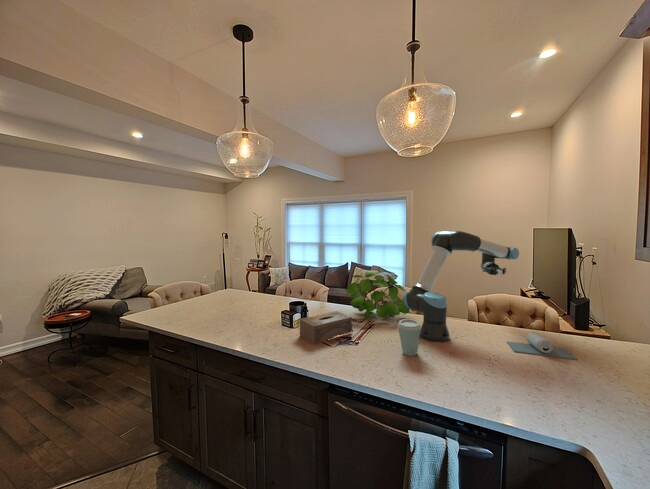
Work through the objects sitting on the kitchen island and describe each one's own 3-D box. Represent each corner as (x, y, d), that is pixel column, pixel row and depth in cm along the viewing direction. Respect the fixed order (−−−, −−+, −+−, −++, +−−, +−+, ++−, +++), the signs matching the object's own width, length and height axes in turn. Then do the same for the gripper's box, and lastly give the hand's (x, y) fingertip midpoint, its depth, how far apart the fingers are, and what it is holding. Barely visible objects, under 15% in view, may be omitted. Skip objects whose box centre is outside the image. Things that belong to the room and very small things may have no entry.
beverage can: (526, 344, 137) (538, 353, 126) (525, 331, 137) (537, 339, 126) (540, 344, 136) (554, 354, 124) (540, 332, 136) (553, 340, 124)
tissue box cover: (314, 345, 138) (313, 326, 138) (299, 336, 150) (299, 319, 150) (352, 334, 153) (352, 317, 153) (336, 327, 165) (336, 311, 164)
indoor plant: (397, 296, 214) (406, 265, 199) (406, 337, 178) (419, 303, 163) (342, 289, 215) (348, 257, 200) (341, 329, 179) (347, 294, 164)
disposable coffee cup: (422, 359, 122) (422, 326, 121) (398, 357, 124) (398, 324, 123) (419, 349, 132) (419, 319, 132) (396, 347, 134) (396, 317, 134)
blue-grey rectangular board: (514, 351, 129) (514, 350, 129) (506, 342, 140) (506, 341, 140) (577, 359, 120) (577, 358, 120) (564, 349, 131) (564, 348, 131)
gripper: (503, 274, 172) (514, 280, 150) (479, 273, 176) (487, 279, 154) (503, 262, 172) (514, 267, 149) (480, 262, 176) (487, 266, 154)
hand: (500, 273), depth 152 cm, fingers closed
